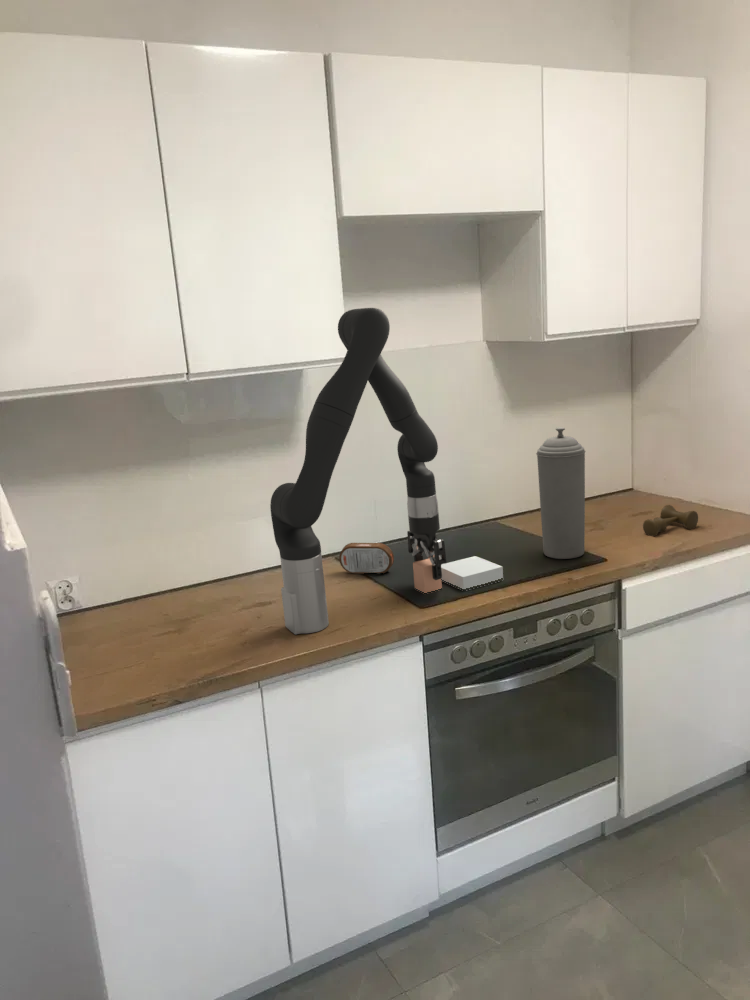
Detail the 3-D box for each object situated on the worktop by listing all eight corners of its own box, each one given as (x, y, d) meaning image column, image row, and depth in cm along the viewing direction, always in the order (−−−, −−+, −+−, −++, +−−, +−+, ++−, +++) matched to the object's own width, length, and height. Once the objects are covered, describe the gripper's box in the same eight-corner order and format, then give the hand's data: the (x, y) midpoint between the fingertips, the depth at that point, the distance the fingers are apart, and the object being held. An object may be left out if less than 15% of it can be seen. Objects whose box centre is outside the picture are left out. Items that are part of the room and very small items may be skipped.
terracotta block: (425, 594, 194) (423, 567, 192) (414, 588, 198) (412, 562, 197) (442, 589, 196) (440, 562, 195) (431, 584, 201) (429, 558, 199)
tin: (395, 571, 213) (393, 541, 211) (392, 575, 210) (390, 545, 208) (342, 571, 217) (340, 542, 216) (339, 574, 215) (336, 545, 213)
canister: (542, 547, 223) (537, 425, 215) (588, 547, 219) (585, 422, 211) (538, 561, 211) (533, 432, 203) (587, 561, 207) (584, 430, 200)
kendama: (635, 534, 229) (678, 518, 239) (663, 542, 221) (707, 525, 231) (635, 515, 227) (679, 500, 237) (663, 521, 219) (707, 505, 230)
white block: (463, 592, 194) (463, 577, 193) (438, 580, 204) (437, 565, 203) (503, 581, 199) (502, 566, 198) (476, 570, 210) (475, 556, 209)
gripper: (395, 510, 197) (401, 571, 201) (425, 521, 185) (430, 585, 189) (421, 504, 201) (426, 564, 204) (451, 514, 188) (456, 578, 192)
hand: (428, 574), depth 197 cm, fingers open, 8 cm apart
